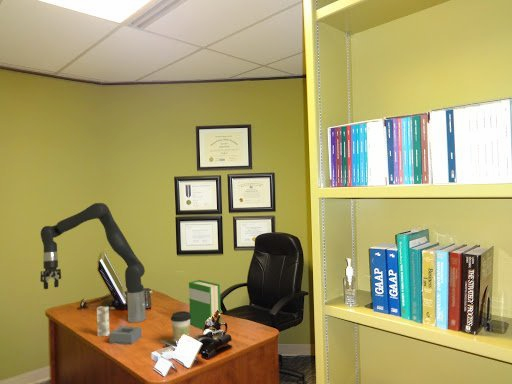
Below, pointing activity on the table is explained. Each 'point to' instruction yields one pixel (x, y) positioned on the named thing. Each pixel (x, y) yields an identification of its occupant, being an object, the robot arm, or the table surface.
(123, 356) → the table surface
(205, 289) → the hardback book
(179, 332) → the coffee cup
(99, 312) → the marbled white block
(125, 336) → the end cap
